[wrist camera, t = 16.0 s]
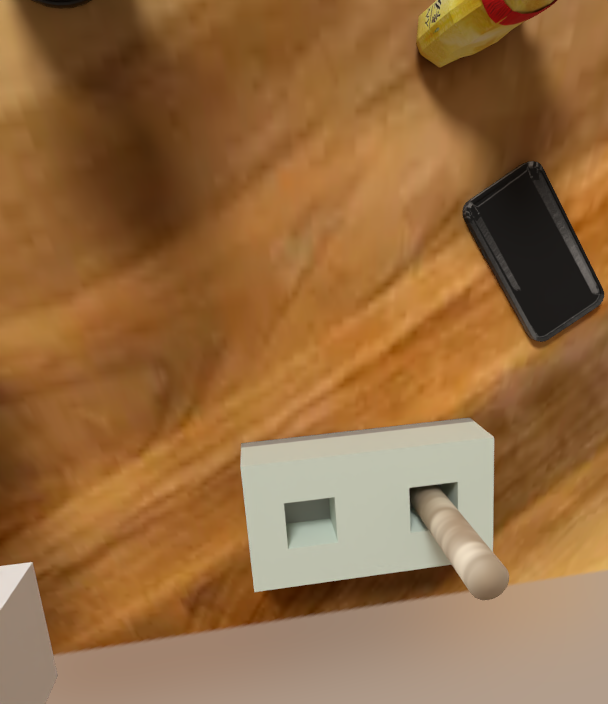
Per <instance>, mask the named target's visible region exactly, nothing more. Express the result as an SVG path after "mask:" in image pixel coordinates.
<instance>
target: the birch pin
mask: <svg viewBox="0 0 608 704" xmlns="http://www.w3.org/2000/svg"><path fill="white" fill-rule="evenodd" d="M409 496H410V503H411V504H412V506H413V507H414V509H415V510H416V512H417V513H418V515H419V516H420V518H421V519H422V521H423V522H424V524H425V525H426V527H427V528H428V530H429V531H430V533H431V534H432V536H433V537H434V539H435V540H436V542H437V543H438V545H439V546H440V548H441V549H442V551H443V552H444V554H445V555H446V557H447V558H448V560H449V561H450V563H451V564H452V566H453V567H454V569H455V570H456V572H457V573H458V575H459V576H460V578H461V579H462V581H463V582H464V584H465V585H466V587H467V588H468V590H469V591H470V593H471V594H472V595H473V596H474V597H475V598H478V599H480V600H489V599H493V598H495V597H497V596H499V595H500V594H501V593H502V592H503V591H504V590H505V589H506V587H507V585H508V582H509V573H508V571H507V569H506V567H505V566H504V565H503V564H502V563H501V561H500V560H499V559H498V558H497V557H496V555H495V554H494V553H493V552H492V551H491V549H490V548H489V547H488V546H487V544H486V543H485V542H484V541H483V540H482V538H481V537H480V536H479V535H478V534H477V532H476V531H475V530H474V529H473V528H472V526H471V525H470V524H469V523H468V521H467V520H466V519H465V518H464V517H463V515H462V514H461V513H460V512H459V511H458V509H457V508H456V507H455V506H454V505H453V503H452V502H451V501H450V500H449V498H448V497H447V496H446V495H445V494H444V492H443V491H442V490H441V489H440V488H439V486H438V485H437V484H436V485H428V486H420V487H412V488H409Z"/></svg>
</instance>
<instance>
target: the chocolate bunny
mask: <svg viewBox="0 0 608 704" xmlns="http://www.w3.org/2000/svg"><path fill="white" fill-rule="evenodd" d="M556 1H557V0H437V1H435V2H434V3H433V4H432V5H431V6H430V7H429V8H428V9H427V10H426V11H425V12H424V13H422V14H421V15H419V19H418V29H417V39H416V44H417V47H418V49H419V52H420V54H421V55H422V56H424V57H425V58H426V59H428V60H429V61H431V62H432V63H433V64H435V65H436V66H438V67H439V68H440V67H442V66H444V65H446V64H448V63H451V62H453V61H455V60H457V59H459V58H461V57H465V56H470V55H473V54H475V53H477V52H479V51H481V50H483V49H485V48H487V47H488V46H490V45H492V44H494V43H496V42H498V41H499V40H500V39H501V38H503V37H504V36H505V35H506V34H507V33H509V32H510V31H511V30H512V29H514V28H515V27H517V26H519V25H520V24H522V23H523V22H525V21H526V20H528V19H530V18H532V17H534V16H536V15H538V14H539V13H541V12H543V11H544V10H546V9H547V8H549V7H550V6H551V5H553V4H554V3H555V2H556ZM545 7H546V8H545Z"/></svg>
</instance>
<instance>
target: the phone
mask: <svg viewBox="0 0 608 704" xmlns="http://www.w3.org/2000/svg"><path fill="white" fill-rule="evenodd" d="M463 218H464V220H465V222H466V224H467V225H468V227H469V230H470V231H471V233H472V234H473V236H474V238H475V241H476V243H477V244H478V246H479V248H480V249H481V252H482V254H483V256H484V258H485V259H486V260H487V262H488V263H489V265H490V267H491V269H492V271H493V273H494V274H495V276H496V278H497V280H498V282H499V283H500V285H501V287H502V289H503V291H504V292H505V294H506V296H507V298H508V300H509V302H510V303H511V305H512V307H513V309H514V311H515V312H516V314H517V316H518V318H519V320H520V321H521V323H522V325H523V327H524V329H525V331H526V332H527V334H528V336H529V337H530V338H531V339H533V340H536V341H540V342H543V341H546V340H548V339H550V338H551V337H553V336H554V335H556V334H557V333H559V332H560V331H562V330H563V329H565V328H566V327H568V326H569V325H571V324H572V323H574V322H575V321H577V320H578V319H580V318H581V317H583V316H584V315H586V314H587V313H589V312H590V311H592V310H593V309H595V308H596V307H598V306H599V305H600V304H601V302H602V301H603V298H604V291H603V288H602V286H601V284H600V282H599V280H598V278H597V276H596V274H595V272H594V270H593V268H592V266H591V264H590V262H589V260H588V258H587V256H586V254H585V252H584V250H583V248H582V246H581V244H580V242H579V240H578V238H577V236H576V234H575V232H574V230H573V228H572V226H571V224H570V222H569V220H568V218H567V216H566V213H565V211H564V209H563V207H562V205H561V203H560V201H559V199H558V197H557V195H556V193H555V191H554V189H553V187H552V185H551V183H550V181H549V179H548V177H547V175H546V173H545V171H544V169H543V167H542V166H541V164H539V163H538V162H534V161H531V162H527V163H524V164H522V165H520V166H518V167H517V168H516V169H514V170H513V171H511V172H510V173H508V174H507V175H505V176H504V177H502V178H501V179H499V180H498V181H496V182H495V183H494V184H492V185H491V186H489V187H488V188H486V189H485V190H483V191H482V192H480V193H479V194H477V195H476V196H474V197H473V198H472V199H470V200H469V201H468V202H467V203H466V204H465V205H464V207H463Z"/></svg>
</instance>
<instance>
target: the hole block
mask: <svg viewBox="0 0 608 704" xmlns="http://www.w3.org/2000/svg"><path fill="white" fill-rule="evenodd" d="M241 476H242V485H243V494H244V503H245V512H246V521H247V530H248V539H249V548H250V557H251V566H252V575H253V583H254V592H259V591H266V590H273V589H280V588H287V587H294V586H302V585H309V584H316V583H323V582H330V581H337V580H345V579H352V578H359V577H366V576H373V575H380V574H387V573H395V572H402V571H409V570H416V569H423V568H430V567H438V566H445V565H452V564H451V563H450V561H449V560H448V558H447V557H446V555H445V554H444V552H443V551H442V549H441V548H440V546H439V545H438V543H437V542H436V540H435V539H434V537H433V536H432V534H431V533H430V531H429V530H428V528H427V527H426V525H425V524H424V522H423V521H422V519H421V518H420V516H419V515H418V513H417V512H416V510H415V509H414V507H413V506H412V504H411V503H410V496H409V488H412V487H420V486H428V485H436V484H437V485H438V486H439V488H440V489H441V490H442V491H443V492H444V494H445V495H446V496H447V497H448V498H449V500H450V501H451V502H452V503H453V505H454V506H455V507H456V508H457V509H458V511H459V512H460V513H461V514H462V515H463V517H464V518H465V519H466V520H467V521H468V523H469V524H470V525H471V526H472V528H473V529H474V530H475V531H476V532H477V534H478V535H479V536H480V537H481V538H482V540H483V541H484V542H485V543H486V544H487V546H488V547H489V548H490V549H491V551H492V552H493V495H494V437H493V436H492V435H491V434H489V433H488V432H487V431H486V430H484V429H483V428H482V427H480V426H479V425H478V424H477V423H475V422H474V421H473V420H472V419H470V418H463V419H454V420H445V421H436V422H427V423H418V424H409V425H401V426H392V427H383V428H374V429H365V430H356V431H347V432H338V433H330V434H321V435H312V436H303V437H294V438H285V439H276V440H267V441H259V442H250V443H241Z"/></svg>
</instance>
